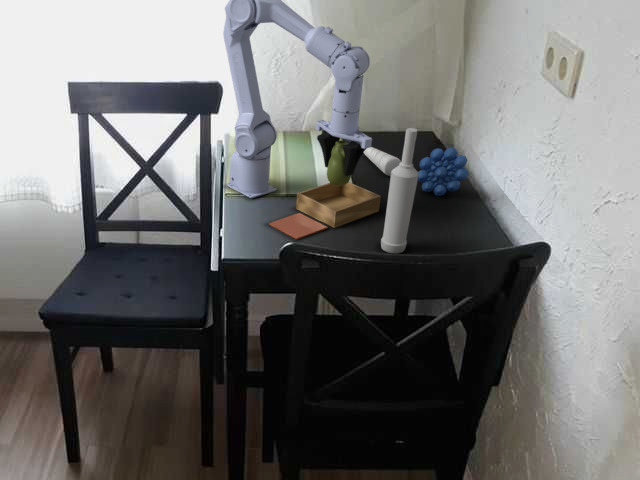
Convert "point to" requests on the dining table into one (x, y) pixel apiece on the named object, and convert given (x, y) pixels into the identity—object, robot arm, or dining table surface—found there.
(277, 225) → the coaster
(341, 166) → the pear
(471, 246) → the dining table surface
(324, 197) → the wooden shallow box
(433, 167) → the blue knobbed flower
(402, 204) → the bottle
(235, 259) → the dining table surface
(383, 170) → the unicorn horn
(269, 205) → the dining table surface
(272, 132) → the robot arm
